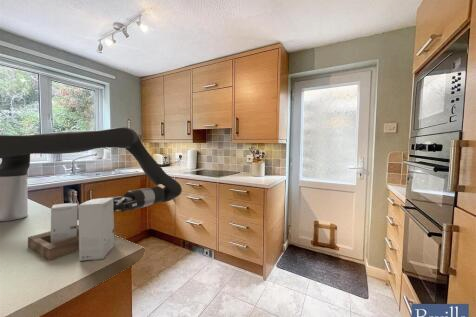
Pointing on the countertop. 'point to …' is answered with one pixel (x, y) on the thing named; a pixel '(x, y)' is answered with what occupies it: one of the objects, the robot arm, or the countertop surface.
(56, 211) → the skincare box
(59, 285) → the countertop surface
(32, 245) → the socket block
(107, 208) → the skincare box
